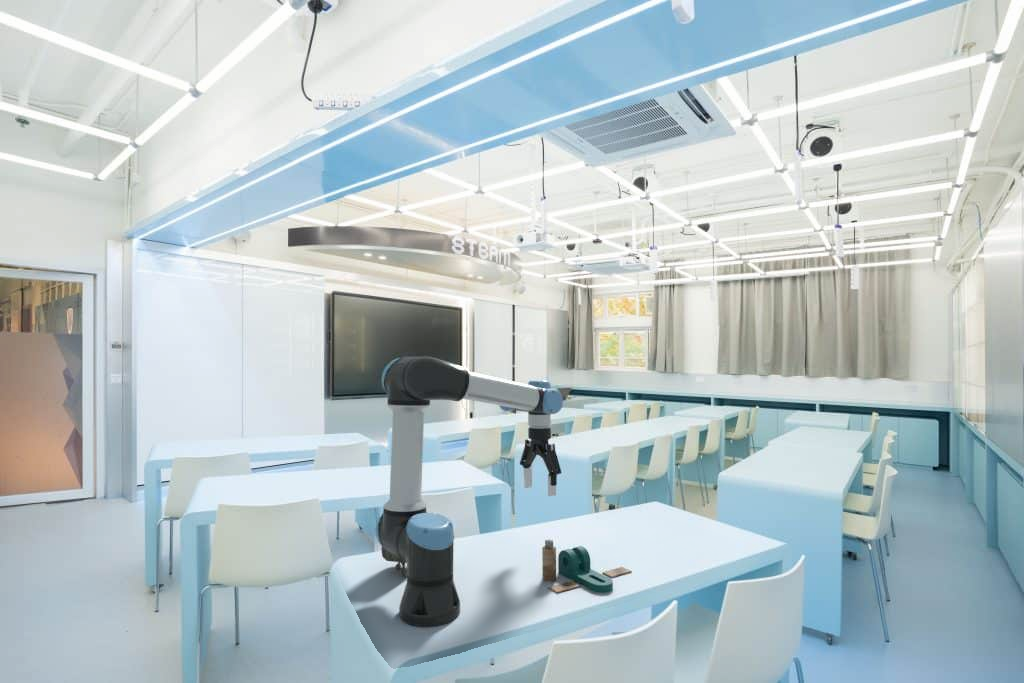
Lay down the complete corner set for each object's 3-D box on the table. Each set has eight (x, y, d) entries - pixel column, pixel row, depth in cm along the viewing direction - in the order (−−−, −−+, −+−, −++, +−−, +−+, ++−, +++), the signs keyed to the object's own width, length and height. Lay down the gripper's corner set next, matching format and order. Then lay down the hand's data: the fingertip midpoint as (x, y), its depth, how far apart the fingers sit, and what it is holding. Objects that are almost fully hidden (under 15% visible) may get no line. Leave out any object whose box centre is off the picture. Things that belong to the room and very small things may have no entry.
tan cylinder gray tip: (547, 583, 154) (547, 544, 154) (539, 578, 158) (539, 540, 158) (559, 580, 156) (558, 541, 157) (551, 575, 160) (550, 537, 160)
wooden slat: (557, 593, 147) (557, 591, 147) (548, 588, 151) (548, 586, 151) (631, 572, 162) (631, 570, 162) (622, 568, 166) (622, 566, 166)
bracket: (558, 574, 161) (558, 547, 162) (575, 569, 165) (575, 543, 165) (599, 595, 146) (599, 566, 147) (617, 589, 150) (617, 561, 150)
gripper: (572, 429, 171) (572, 497, 170) (527, 422, 192) (527, 482, 191) (553, 431, 167) (553, 500, 166) (510, 424, 188) (510, 485, 187)
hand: (539, 491), depth 179 cm, fingers open, 13 cm apart
